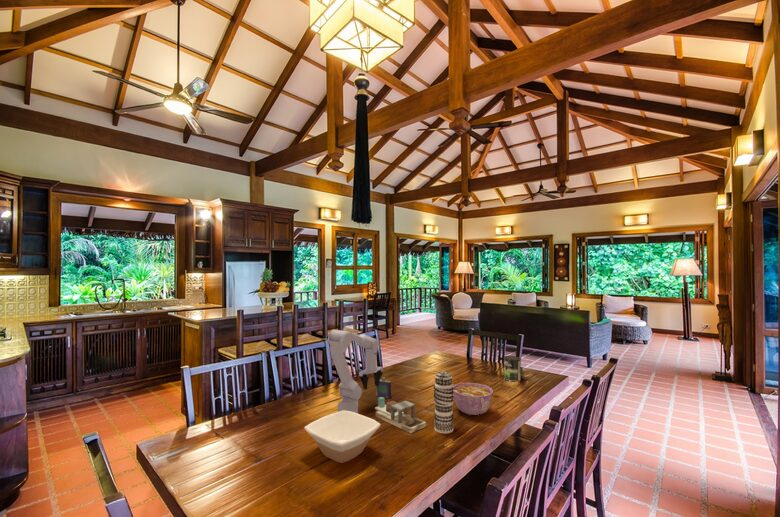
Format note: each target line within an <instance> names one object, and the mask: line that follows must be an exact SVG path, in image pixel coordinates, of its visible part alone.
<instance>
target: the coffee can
mask: <svg viewBox="0 0 780 517" xmlns="http://www.w3.org/2000/svg"><path fill="white" fill-rule="evenodd" d="M505 379H506V380H509V381H508V382H510V381H519V380H520V381H521V357H520V356H516V355H505V356H503V380H505ZM506 380H505V381H506ZM520 381H519V382H520Z"/></svg>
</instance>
